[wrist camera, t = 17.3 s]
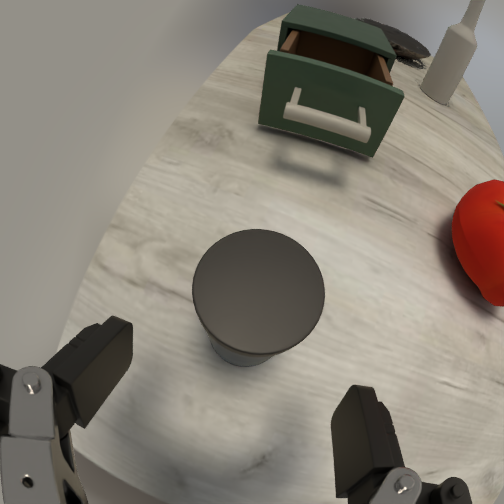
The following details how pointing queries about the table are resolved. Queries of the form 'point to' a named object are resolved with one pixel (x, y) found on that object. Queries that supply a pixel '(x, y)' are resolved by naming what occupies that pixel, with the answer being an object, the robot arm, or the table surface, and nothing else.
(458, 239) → the tomato
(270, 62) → the drawer
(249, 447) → the table surface
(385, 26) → the rough clay dish
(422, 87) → the bottle
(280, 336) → the plastic container
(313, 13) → the cabinet
